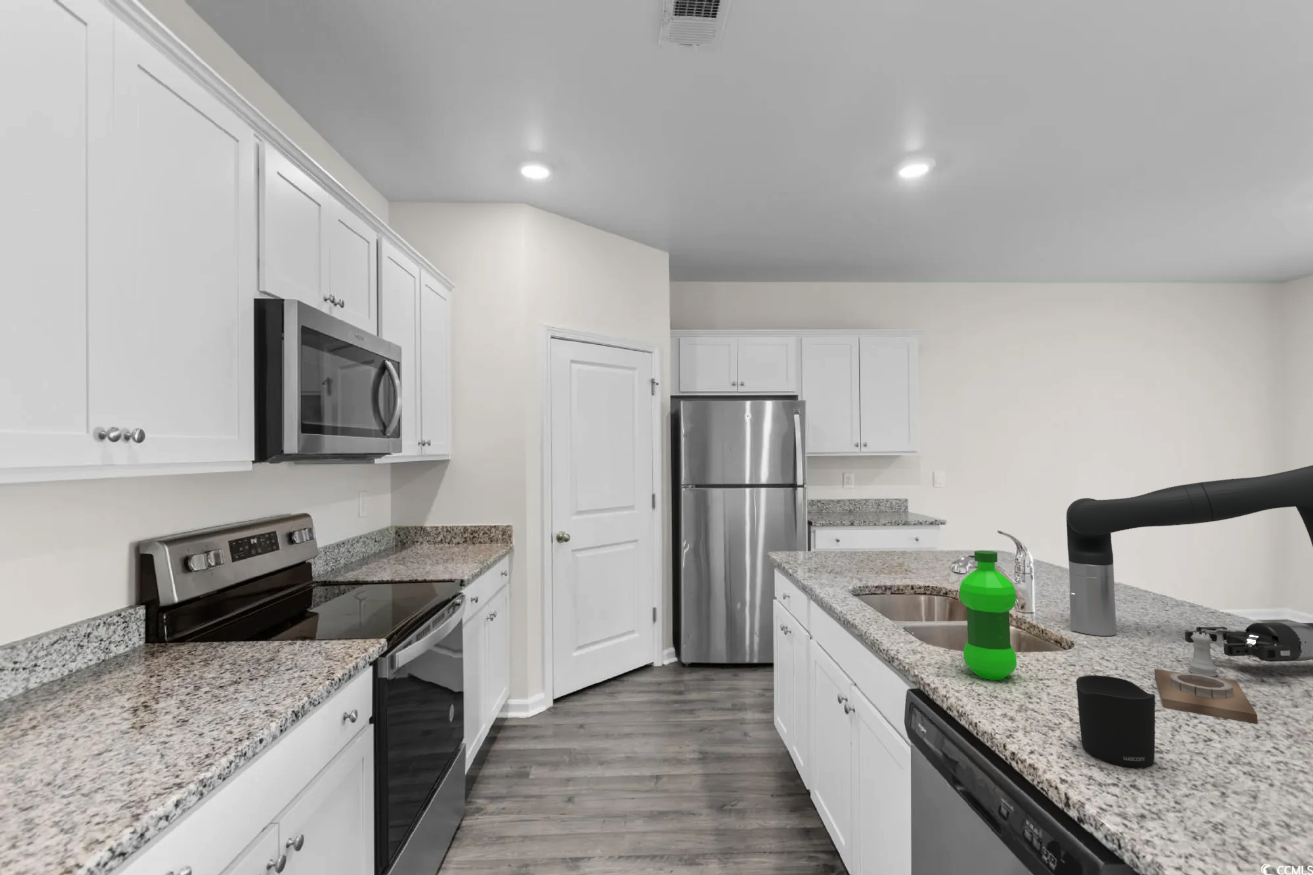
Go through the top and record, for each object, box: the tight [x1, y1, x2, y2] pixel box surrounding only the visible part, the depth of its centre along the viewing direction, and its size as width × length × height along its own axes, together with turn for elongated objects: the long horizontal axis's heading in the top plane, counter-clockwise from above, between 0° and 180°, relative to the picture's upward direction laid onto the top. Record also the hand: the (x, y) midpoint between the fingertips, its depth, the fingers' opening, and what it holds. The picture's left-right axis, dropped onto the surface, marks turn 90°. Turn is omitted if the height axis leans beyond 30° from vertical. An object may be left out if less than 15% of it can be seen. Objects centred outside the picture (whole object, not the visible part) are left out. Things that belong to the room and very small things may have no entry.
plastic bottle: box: [958, 550, 1017, 681], centre depth 124 cm, size 10×10×25 cm
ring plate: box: [1153, 668, 1258, 724], centre depth 110 cm, size 12×18×3 cm, turn 144°
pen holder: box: [1075, 674, 1156, 769], centre depth 91 cm, size 9×9×10 cm
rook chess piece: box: [1188, 632, 1219, 678], centre depth 122 cm, size 4×4×8 cm
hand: (1205, 643), depth 122 cm, fingers open, 8 cm apart
